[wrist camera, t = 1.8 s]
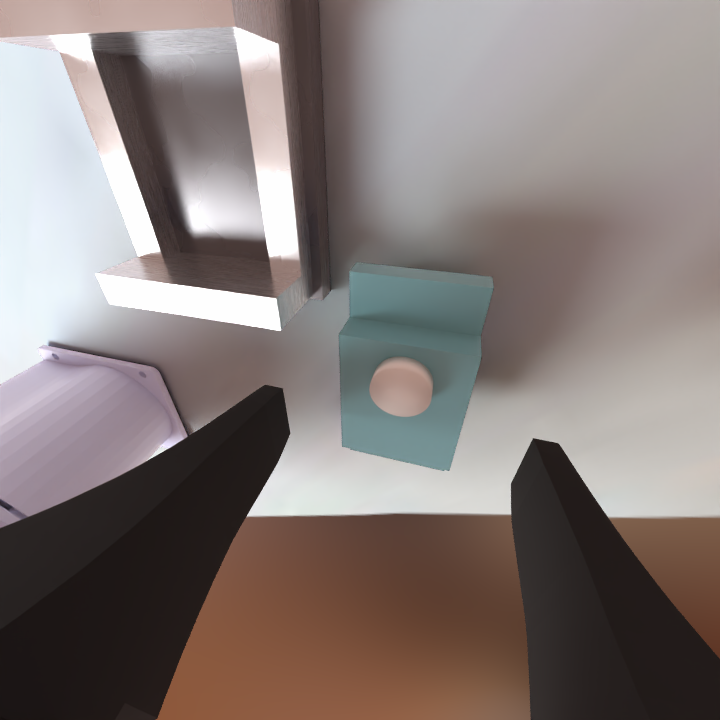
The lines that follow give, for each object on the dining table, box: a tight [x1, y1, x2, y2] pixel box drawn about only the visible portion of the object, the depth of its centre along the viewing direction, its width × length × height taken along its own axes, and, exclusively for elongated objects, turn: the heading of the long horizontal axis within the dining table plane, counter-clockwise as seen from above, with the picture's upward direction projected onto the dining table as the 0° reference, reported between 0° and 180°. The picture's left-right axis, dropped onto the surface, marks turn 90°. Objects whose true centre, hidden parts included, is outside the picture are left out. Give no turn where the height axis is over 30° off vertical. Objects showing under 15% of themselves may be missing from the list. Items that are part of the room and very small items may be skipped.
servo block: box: [339, 262, 494, 471], centre depth 12 cm, size 4×8×6 cm, turn 179°
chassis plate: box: [0, 0, 331, 331], centre depth 11 cm, size 8×9×4 cm
